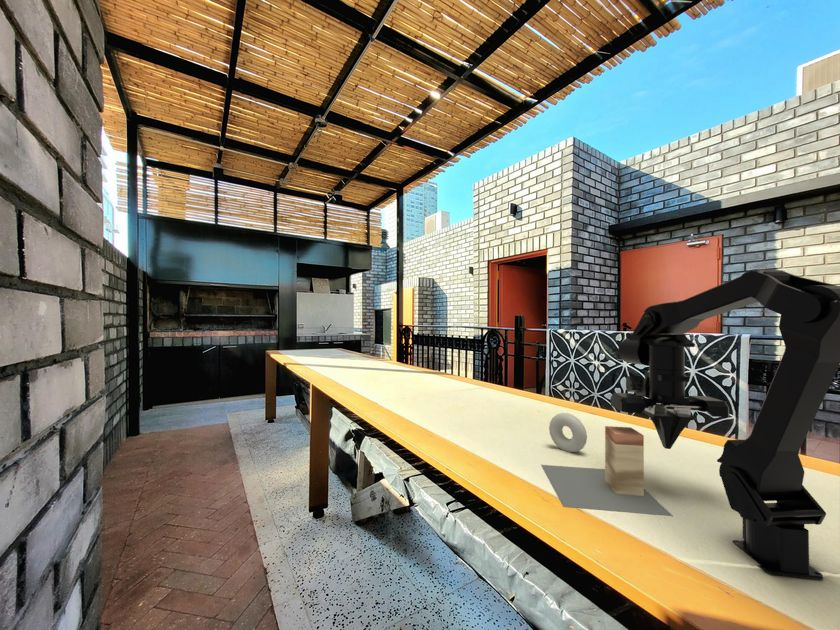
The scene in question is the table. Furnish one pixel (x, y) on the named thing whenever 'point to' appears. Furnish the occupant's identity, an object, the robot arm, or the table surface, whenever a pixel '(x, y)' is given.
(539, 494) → the table surface
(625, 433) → the pine block
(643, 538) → the table surface
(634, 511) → the rubber mat
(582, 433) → the donut
